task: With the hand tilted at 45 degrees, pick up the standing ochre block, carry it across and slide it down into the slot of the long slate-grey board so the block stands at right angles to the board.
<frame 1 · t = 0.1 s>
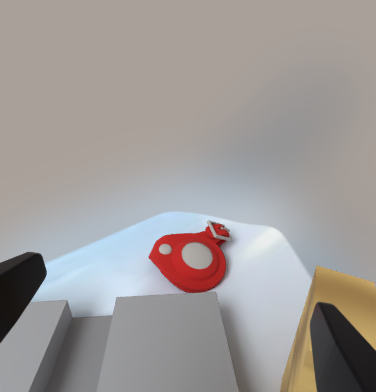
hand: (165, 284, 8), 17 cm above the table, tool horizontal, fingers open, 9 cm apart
slotted board: (82, 372, 21), on the table
tracker holder: (199, 264, 34), on the table
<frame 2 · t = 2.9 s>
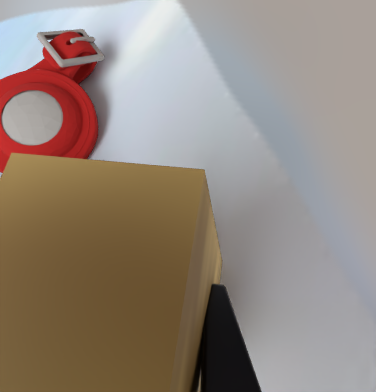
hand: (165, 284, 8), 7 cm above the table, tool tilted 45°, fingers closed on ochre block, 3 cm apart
ochre block: (187, 313, 14), on the table, touching gripper
tracker holder: (64, 121, 20), on the table
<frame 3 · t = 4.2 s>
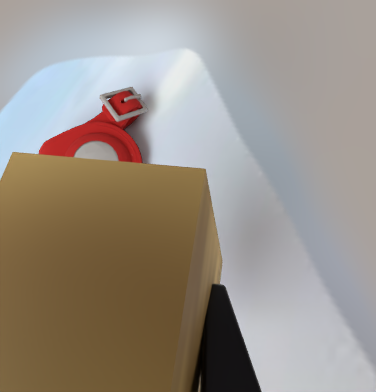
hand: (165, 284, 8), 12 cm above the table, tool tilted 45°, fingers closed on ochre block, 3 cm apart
ochre block: (188, 312, 14), point 6 cm above the table, touching gripper
tracker holder: (113, 159, 26), on the table
when the fingers open (8 cm above the table, at t = 6.6 s): ochre block drops 1 cm, resting on slotted board.
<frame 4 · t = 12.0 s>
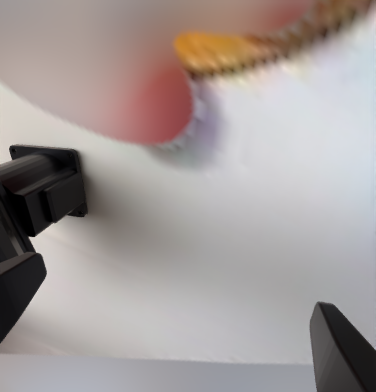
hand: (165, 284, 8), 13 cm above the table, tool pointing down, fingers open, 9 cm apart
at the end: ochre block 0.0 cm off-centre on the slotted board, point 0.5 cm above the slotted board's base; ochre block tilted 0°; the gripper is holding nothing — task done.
